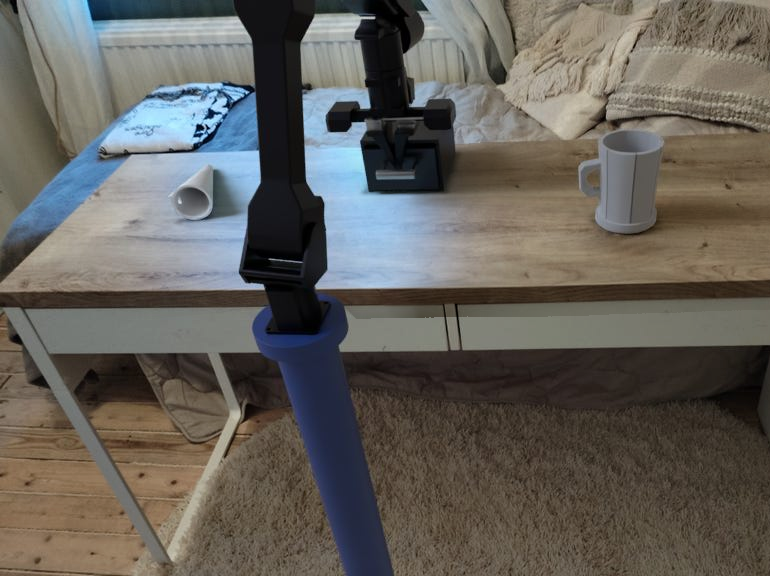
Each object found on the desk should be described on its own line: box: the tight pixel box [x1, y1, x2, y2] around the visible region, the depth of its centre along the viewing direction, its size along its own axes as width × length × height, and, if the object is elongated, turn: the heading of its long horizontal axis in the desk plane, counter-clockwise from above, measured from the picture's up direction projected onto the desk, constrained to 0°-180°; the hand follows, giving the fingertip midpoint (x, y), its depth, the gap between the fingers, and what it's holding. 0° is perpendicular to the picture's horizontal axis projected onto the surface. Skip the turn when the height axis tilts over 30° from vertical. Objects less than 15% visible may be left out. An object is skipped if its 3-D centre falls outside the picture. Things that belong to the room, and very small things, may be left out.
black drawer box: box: [359, 121, 457, 193], centre depth 118 cm, size 15×13×9 cm
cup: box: [577, 128, 665, 235], centre depth 99 cm, size 10×9×12 cm
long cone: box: [168, 164, 214, 221], centre depth 119 cm, size 6×6×19 cm
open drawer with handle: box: [363, 144, 440, 190], centre depth 115 cm, size 18×11×7 cm, turn 174°
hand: (399, 170), depth 110 cm, fingers closed
